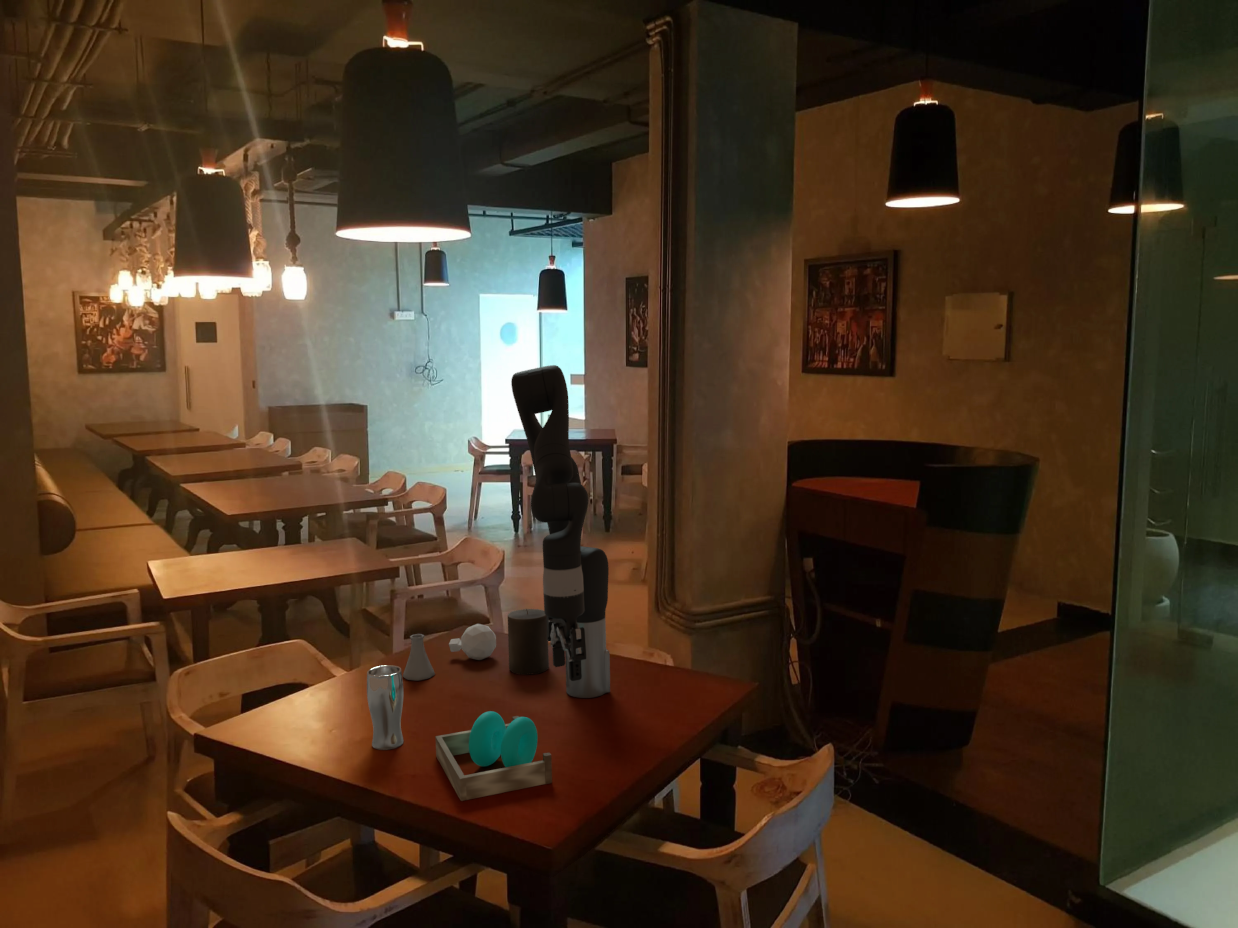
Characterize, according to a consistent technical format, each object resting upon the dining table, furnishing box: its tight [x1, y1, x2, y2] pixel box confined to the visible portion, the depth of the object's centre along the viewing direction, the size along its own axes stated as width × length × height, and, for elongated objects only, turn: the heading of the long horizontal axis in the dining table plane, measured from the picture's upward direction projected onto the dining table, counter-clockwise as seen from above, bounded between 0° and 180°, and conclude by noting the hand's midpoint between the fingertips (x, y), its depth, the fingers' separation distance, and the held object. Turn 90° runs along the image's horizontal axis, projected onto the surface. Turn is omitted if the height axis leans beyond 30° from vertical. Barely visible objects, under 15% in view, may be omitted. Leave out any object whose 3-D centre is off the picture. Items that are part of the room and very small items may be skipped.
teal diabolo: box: [468, 710, 539, 768], centre depth 174 cm, size 10×10×10 cm
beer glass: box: [366, 664, 404, 751], centre depth 186 cm, size 7×7×15 cm
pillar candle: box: [507, 608, 550, 675], centre depth 229 cm, size 10×10×15 cm
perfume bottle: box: [448, 623, 497, 661], centre depth 238 cm, size 9×9×12 cm
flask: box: [402, 633, 436, 682], centre depth 225 cm, size 7×7×10 cm
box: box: [435, 715, 553, 802], centre depth 174 cm, size 16×20×5 cm
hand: (567, 672), depth 178 cm, fingers open, 8 cm apart
